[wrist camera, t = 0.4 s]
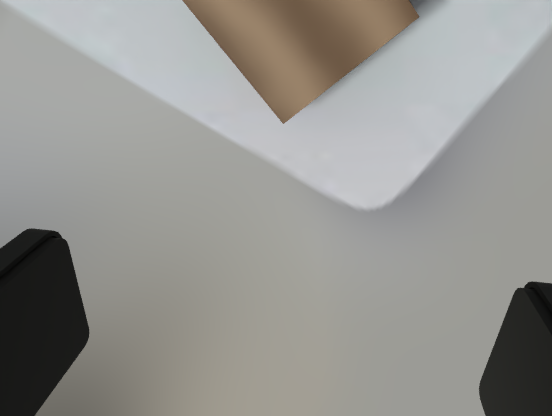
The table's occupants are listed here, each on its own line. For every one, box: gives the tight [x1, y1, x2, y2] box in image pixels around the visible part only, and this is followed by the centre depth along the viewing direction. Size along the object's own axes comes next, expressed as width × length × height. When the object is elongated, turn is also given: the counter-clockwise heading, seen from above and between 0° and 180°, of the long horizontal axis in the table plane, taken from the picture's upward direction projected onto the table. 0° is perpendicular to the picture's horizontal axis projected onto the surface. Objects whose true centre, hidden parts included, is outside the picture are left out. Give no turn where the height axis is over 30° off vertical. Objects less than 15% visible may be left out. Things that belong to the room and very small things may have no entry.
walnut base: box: [183, 0, 419, 124], centre depth 30 cm, size 12×12×4 cm
